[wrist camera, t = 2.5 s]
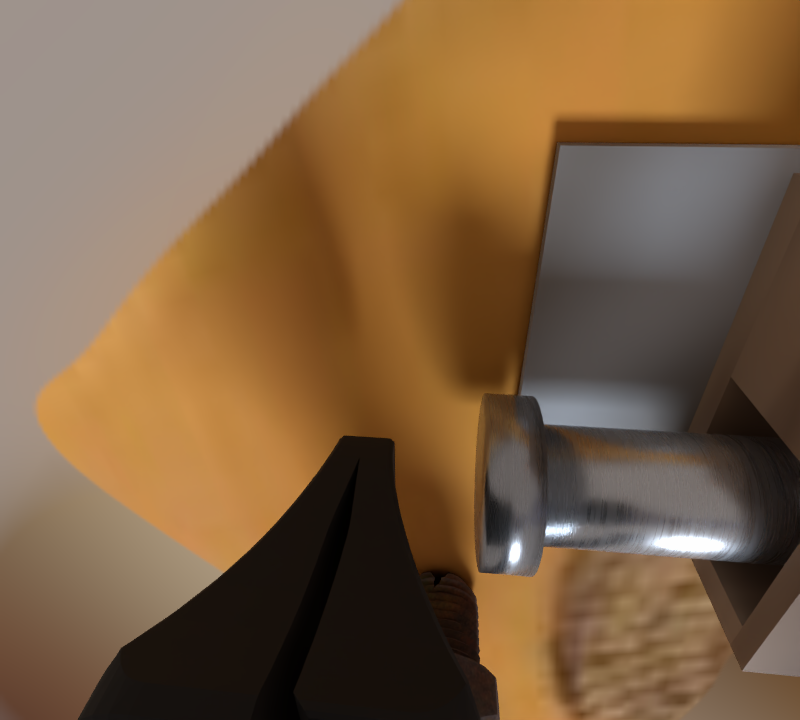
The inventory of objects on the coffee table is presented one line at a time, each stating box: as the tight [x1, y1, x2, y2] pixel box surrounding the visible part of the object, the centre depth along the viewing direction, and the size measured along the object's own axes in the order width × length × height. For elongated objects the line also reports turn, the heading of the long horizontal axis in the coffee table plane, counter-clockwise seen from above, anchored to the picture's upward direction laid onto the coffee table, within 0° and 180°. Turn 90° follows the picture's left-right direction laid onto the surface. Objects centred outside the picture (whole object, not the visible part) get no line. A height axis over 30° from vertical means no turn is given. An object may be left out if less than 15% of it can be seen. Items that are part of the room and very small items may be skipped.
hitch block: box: [518, 142, 800, 677], centre depth 12 cm, size 12×12×6 cm
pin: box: [474, 393, 800, 577], centre depth 12 cm, size 10×4×4 cm, turn 91°
